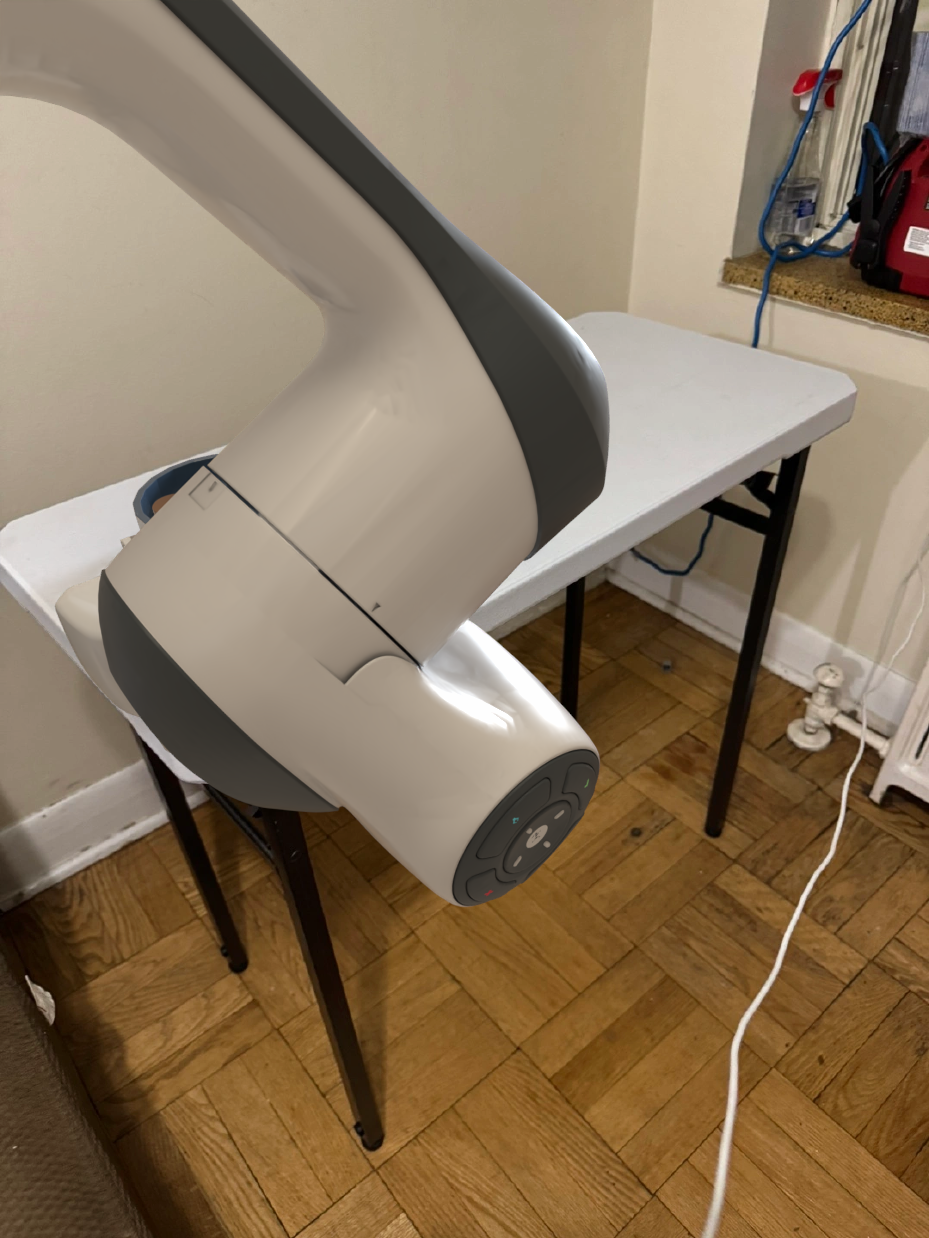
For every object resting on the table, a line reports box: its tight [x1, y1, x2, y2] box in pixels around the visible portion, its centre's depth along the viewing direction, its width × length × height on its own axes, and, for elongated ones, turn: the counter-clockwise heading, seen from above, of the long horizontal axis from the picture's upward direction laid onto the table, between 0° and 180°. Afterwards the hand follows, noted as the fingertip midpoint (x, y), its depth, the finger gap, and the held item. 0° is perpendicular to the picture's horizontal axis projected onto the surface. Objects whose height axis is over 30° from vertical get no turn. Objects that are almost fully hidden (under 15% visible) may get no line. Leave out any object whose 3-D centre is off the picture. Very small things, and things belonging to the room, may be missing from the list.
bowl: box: [132, 453, 260, 531], centre depth 80 cm, size 14×14×6 cm
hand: (216, 517), depth 50 cm, fingers open, 8 cm apart
